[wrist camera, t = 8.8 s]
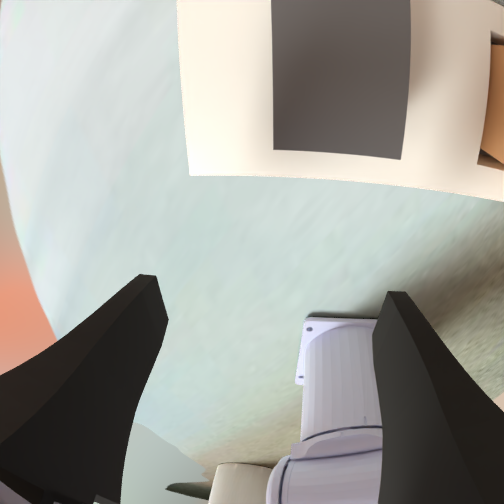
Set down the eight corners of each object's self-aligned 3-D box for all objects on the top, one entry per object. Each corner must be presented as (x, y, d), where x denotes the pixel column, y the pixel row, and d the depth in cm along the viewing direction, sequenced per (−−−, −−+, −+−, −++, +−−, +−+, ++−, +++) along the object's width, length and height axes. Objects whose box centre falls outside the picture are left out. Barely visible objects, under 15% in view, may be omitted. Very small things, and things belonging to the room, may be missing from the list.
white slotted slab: (554, 55, 8) (628, 79, 2) (534, 190, 14) (593, 247, 8) (200, -19, 11) (138, -59, 5) (209, 152, 16) (160, 211, 11)
